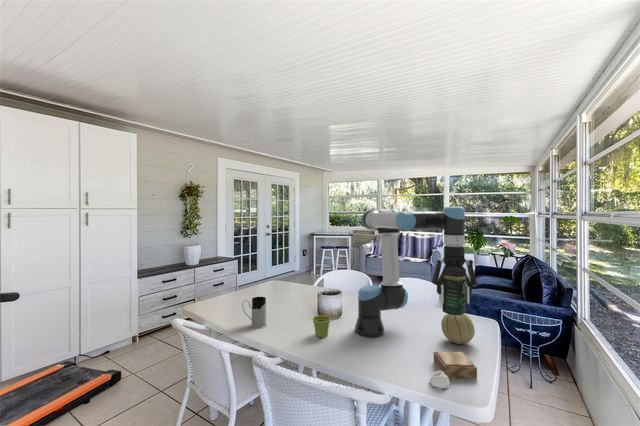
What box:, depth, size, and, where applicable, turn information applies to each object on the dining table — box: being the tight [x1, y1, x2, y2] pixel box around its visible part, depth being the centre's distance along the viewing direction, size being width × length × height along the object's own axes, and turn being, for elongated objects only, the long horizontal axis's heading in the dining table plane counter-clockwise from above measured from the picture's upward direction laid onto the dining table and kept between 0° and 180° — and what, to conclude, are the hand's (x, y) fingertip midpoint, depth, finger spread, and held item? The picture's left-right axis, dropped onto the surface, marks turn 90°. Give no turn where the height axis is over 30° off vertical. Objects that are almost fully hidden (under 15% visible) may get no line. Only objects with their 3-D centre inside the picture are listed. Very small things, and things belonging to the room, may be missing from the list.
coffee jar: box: [441, 266, 467, 316], centre depth 117 cm, size 10×8×19 cm
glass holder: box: [241, 296, 268, 329], centre depth 165 cm, size 9×14×15 cm, turn 78°
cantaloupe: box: [440, 313, 476, 345], centre depth 143 cm, size 15×15×15 cm
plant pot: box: [312, 314, 332, 339], centre depth 151 cm, size 9×9×9 cm
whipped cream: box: [429, 370, 451, 390], centre depth 108 cm, size 8×7×5 cm
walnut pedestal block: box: [433, 350, 478, 380], centre depth 117 cm, size 12×12×5 cm
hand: (454, 302), depth 117 cm, fingers closed on coffee jar, 9 cm apart
